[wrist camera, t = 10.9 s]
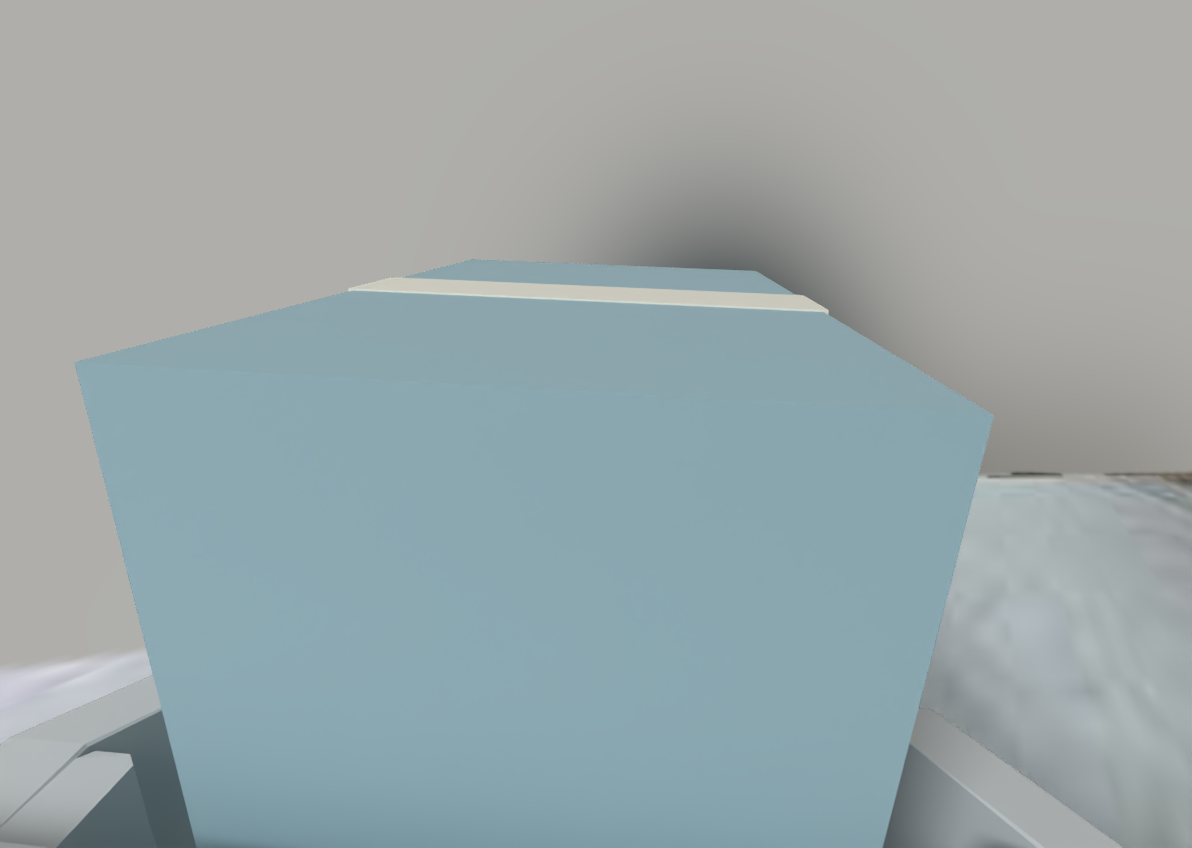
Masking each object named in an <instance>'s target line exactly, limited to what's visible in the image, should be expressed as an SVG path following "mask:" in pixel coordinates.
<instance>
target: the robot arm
mask: <svg viewBox="0 0 1192 848" xmlns="http://www.w3.org/2000/svg"><path fill="white" fill-rule="evenodd" d="M0 848H196V844H195V840H194V836H193V832H192V828H191V824H190V820H189V816H188V812H187V808H186V804H185V800H184V796H183V792H182V788H181V784H180V780H179V776H178V772H177V768H176V764H175V760H174V756H173V752H172V748H171V744H170V740H169V736H168V732H167V728H166V724H165V720H164V716H163V713H162V709H161V705H160V701H159V697H158V693H157V689H156V685H155V681H154V677H153V675H151V676H149V677H147V678H145V679H142V680H140V681H138V682H135V683H133V684H131V685H129V686H126V687H124V688H122V689H119V690H117V691H115V692H113V693H110V694H108V695H106V696H103V697H101V698H99V699H97V700H94V701H92V702H90V703H87V704H85V705H83V706H81V707H78V708H76V709H74V710H71V711H69V712H67V713H65V714H62V715H60V716H58V717H55V718H53V719H51V720H49V721H46V722H44V723H42V724H39V725H37V726H35V727H33V728H30V729H28V730H26V731H23V732H21V733H19V734H17V735H14V736H12V737H10V738H9V739H7V740H6V741H5V742H4V743H2V744H1V745H0ZM883 848H1124V847H1122V846H1121V845H1119V844H1118V843H1117V842H1115V841H1114V840H1112V839H1111V838H1110V837H1108V836H1107V835H1106V834H1104V833H1103V832H1101V831H1100V830H1099V829H1097V828H1096V827H1094V826H1093V825H1092V824H1090V823H1089V822H1087V821H1086V820H1085V819H1083V818H1082V817H1081V816H1079V815H1078V814H1076V813H1075V812H1074V811H1072V810H1071V809H1069V808H1068V807H1067V806H1065V805H1064V804H1063V803H1061V802H1060V801H1058V800H1057V799H1056V798H1054V797H1053V796H1051V795H1050V794H1049V793H1047V792H1046V791H1044V790H1043V789H1042V788H1040V787H1039V786H1038V785H1036V784H1035V783H1033V782H1032V781H1031V780H1029V779H1028V778H1026V777H1025V776H1024V775H1022V774H1021V773H1020V772H1018V771H1017V770H1015V769H1014V768H1013V767H1011V766H1010V765H1008V764H1007V763H1006V762H1004V761H1003V760H1001V759H1000V758H999V757H997V756H996V755H995V754H993V753H992V752H990V751H989V750H988V749H986V748H985V747H983V746H982V745H981V744H979V743H978V742H977V741H975V740H974V739H972V738H971V737H970V736H968V735H967V734H965V733H964V732H963V731H961V730H960V729H958V728H957V727H956V726H954V725H953V724H952V723H950V722H949V721H947V720H946V719H945V718H943V717H942V716H940V715H939V714H938V713H936V712H935V711H934V710H931V709H922V708H920V707H919V708H918V712H917V716H916V720H915V724H914V728H913V731H912V735H911V739H910V743H909V747H908V751H907V755H906V759H905V763H904V766H903V770H902V774H901V778H900V782H899V786H898V790H897V794H896V797H895V801H894V805H893V809H892V813H891V817H890V821H889V825H888V829H887V832H886V836H885V840H884V844H883Z"/></svg>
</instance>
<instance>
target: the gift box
mask: <svg viewBox="0 0 1192 848" xmlns="http://www.w3.org/2000/svg"><path fill="white" fill-rule="evenodd" d="M828 312H829V310H827V309H825V308H824V307H822V306H821V305H819V304H817V303H815V302H814V301H812V300H810V299H808V298H806V297H805V296H803V295H795V294H793V293H791V292H790V291H788V290H786V289H785V288H783V287H781V286H780V285H778V284H776V283H775V282H773V281H772V280H770V279H768V278H766V277H765V276H763V275H762V274H760V273H758V272H757V271H740V270H716V269H715V270H714V269H692V268H668V267H644V266H619V265H595V264H571V263H570V264H569V263H547V262H546V263H545V262H522V261H498V260H474V259H473V260H469V261H464V262H461V263H457V264H453V265H449V266H446V267H441V268H437V269H433V270H430V271H426V272H422V273H418V274H414V275H410V276H406V277H402V278H398V277H392V278H388V279H384V280H380V281H375V282H371V283H367V284H363V285H359V286H356V287H352V288H348V292H345V293H341V294H337V295H333V296H329V297H325V298H321V299H317V300H313V301H310V302H306V303H302V304H298V305H295V306H290V307H287V308H283V309H279V310H275V311H271V312H267V313H263V314H260V315H255V316H252V317H248V318H244V319H240V320H236V321H232V322H229V323H225V324H221V325H217V326H213V327H209V328H206V329H201V330H198V331H194V332H190V333H186V334H182V335H178V336H174V337H170V338H166V339H163V340H159V341H155V342H151V343H147V344H143V345H139V346H136V347H132V348H128V349H124V350H120V351H116V352H112V353H108V354H105V355H101V356H97V357H93V358H89V359H85V360H81V361H78V362H75V366H76V370H77V374H78V378H79V382H80V386H81V390H82V394H83V398H84V402H85V406H86V410H87V414H88V418H89V422H90V426H91V430H92V434H93V438H94V442H95V445H96V450H97V454H98V458H99V462H100V466H101V469H102V474H103V478H104V481H105V486H106V490H107V494H108V497H109V502H110V506H111V510H112V513H113V517H114V521H115V525H116V529H117V533H118V537H119V541H120V545H121V548H122V553H123V557H124V561H125V565H126V569H127V573H128V577H129V581H130V585H131V589H132V593H133V597H134V601H135V605H136V609H137V613H138V617H139V621H140V625H141V629H142V633H143V637H144V641H145V645H146V649H147V653H148V657H149V661H150V665H151V669H152V673H153V677H154V681H155V685H156V689H157V693H158V697H159V701H160V705H161V709H162V713H163V716H164V720H165V724H166V728H167V732H168V736H169V740H170V744H171V748H172V752H173V756H174V760H175V764H176V768H177V772H178V776H179V780H180V784H181V788H182V792H183V796H184V800H185V804H186V808H187V812H188V816H189V820H190V824H191V828H192V832H193V836H194V840H195V844H196V848H883V844H884V840H885V836H886V832H887V829H888V825H889V821H890V817H891V813H892V809H893V805H894V801H895V797H896V794H897V790H898V786H899V782H900V778H901V774H902V770H903V766H904V763H905V759H906V755H907V751H908V747H909V743H910V739H911V735H912V731H913V728H914V724H915V720H916V716H917V712H918V708H919V704H920V700H921V696H922V693H923V689H924V685H925V681H926V677H927V673H928V669H929V665H930V661H931V658H932V654H933V650H934V646H935V642H936V638H937V634H938V630H939V626H940V623H941V619H942V615H943V611H944V607H945V603H946V599H947V595H948V592H949V588H950V584H951V580H952V576H953V572H954V568H955V564H956V560H957V557H958V553H959V549H960V545H961V541H962V537H963V533H964V529H965V525H966V522H967V518H968V514H969V510H970V506H971V502H972V498H973V494H974V490H975V487H976V483H977V479H978V475H979V471H980V467H981V463H982V459H983V455H984V452H985V448H986V444H987V440H988V436H989V432H990V428H991V424H992V420H993V416H994V415H993V414H991V413H990V412H988V411H986V410H985V409H983V408H981V407H980V406H978V405H976V404H975V403H973V402H971V401H970V400H968V399H966V398H965V397H963V396H961V395H960V394H958V393H957V392H955V391H953V390H951V389H950V388H948V387H947V386H945V385H943V384H942V383H940V382H938V381H937V380H935V379H933V378H932V377H930V376H928V375H927V374H925V373H923V372H922V371H920V370H919V369H917V368H915V367H913V366H912V365H910V364H909V363H907V362H905V361H904V360H902V359H900V358H899V357H897V356H895V355H894V354H892V353H890V352H889V351H887V350H885V349H884V348H882V347H881V346H879V345H877V344H876V343H874V342H872V341H871V340H869V339H867V338H865V337H864V336H862V335H860V334H859V333H857V332H856V331H854V330H852V329H850V328H849V327H848V326H846V325H844V324H843V323H841V322H839V321H837V320H836V319H834V318H833V317H831V316H829V315H828Z"/></svg>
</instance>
